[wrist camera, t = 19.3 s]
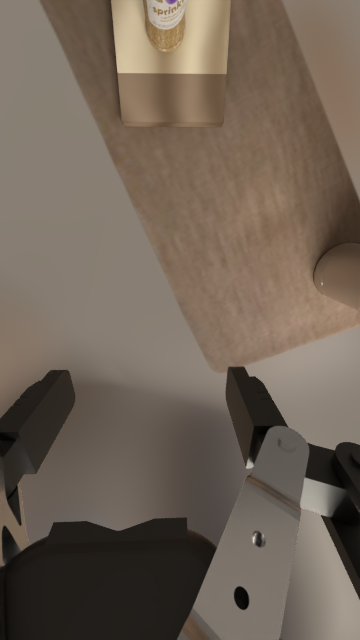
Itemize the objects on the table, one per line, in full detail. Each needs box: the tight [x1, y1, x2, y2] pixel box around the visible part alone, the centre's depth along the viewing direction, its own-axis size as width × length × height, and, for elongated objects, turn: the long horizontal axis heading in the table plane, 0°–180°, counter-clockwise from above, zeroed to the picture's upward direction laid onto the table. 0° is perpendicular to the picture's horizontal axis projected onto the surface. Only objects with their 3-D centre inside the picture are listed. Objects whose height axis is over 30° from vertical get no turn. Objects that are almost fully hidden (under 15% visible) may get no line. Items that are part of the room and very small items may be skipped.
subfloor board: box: [111, 0, 231, 127], centre depth 26 cm, size 13×13×2 cm
